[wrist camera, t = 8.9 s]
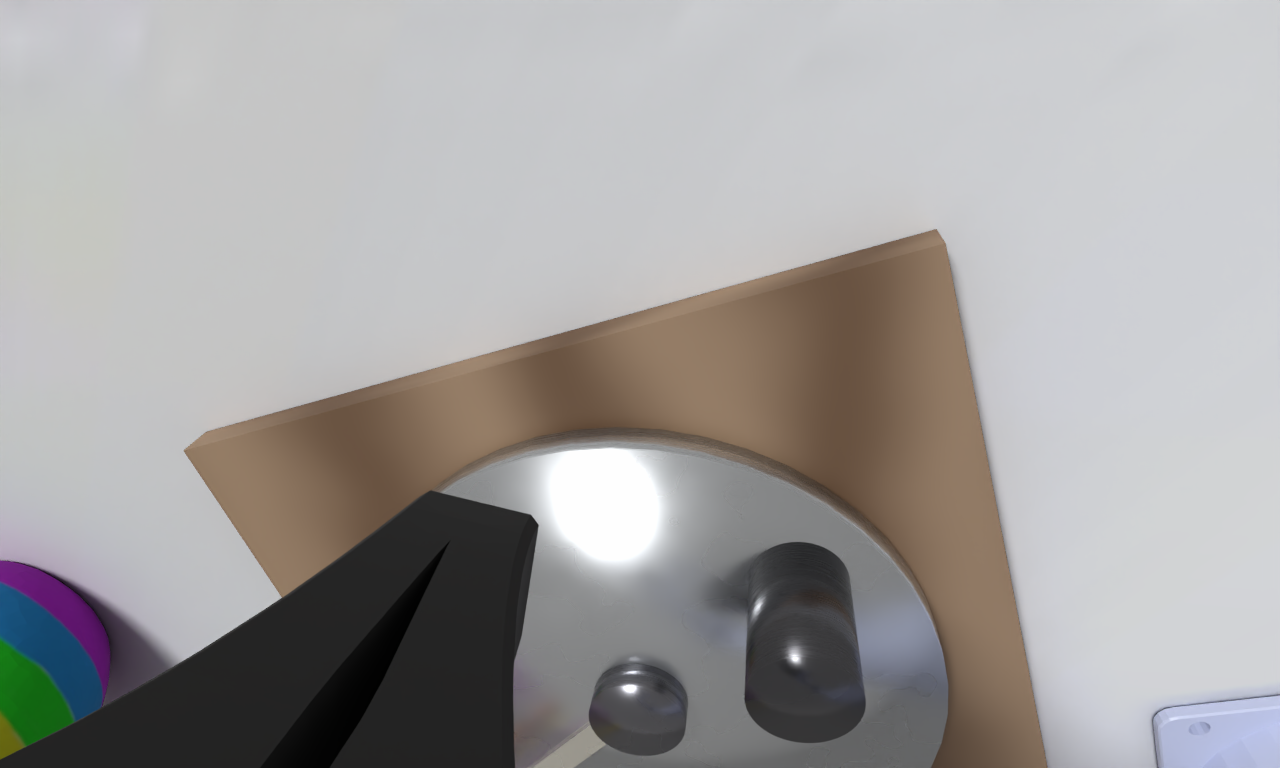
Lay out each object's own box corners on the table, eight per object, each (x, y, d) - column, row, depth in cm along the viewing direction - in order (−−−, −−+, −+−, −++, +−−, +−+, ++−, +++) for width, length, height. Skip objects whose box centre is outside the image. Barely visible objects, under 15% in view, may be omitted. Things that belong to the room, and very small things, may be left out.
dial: (1073, 690, 21) (1146, 863, 17) (668, 910, 28) (650, 1069, 24) (602, 297, 18) (552, 394, 14) (280, 657, 25) (184, 791, 21)
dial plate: (936, 228, 17) (986, 307, 13) (1054, 826, 25) (1108, 987, 21) (206, 431, 23) (87, 529, 19) (491, 870, 30) (449, 1004, 26)
